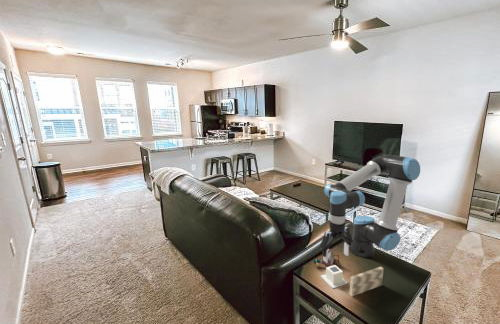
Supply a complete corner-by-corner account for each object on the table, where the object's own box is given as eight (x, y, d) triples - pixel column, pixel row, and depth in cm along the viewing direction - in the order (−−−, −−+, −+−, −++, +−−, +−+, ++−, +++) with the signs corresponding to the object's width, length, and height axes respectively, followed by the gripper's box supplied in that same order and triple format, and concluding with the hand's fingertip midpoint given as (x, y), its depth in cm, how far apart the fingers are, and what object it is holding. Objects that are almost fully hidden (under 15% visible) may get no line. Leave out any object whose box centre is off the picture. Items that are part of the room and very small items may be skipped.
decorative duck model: (314, 260, 133) (309, 244, 148) (314, 271, 135) (310, 255, 150) (341, 258, 132) (333, 243, 146) (341, 270, 134) (334, 253, 148)
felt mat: (335, 271, 133) (335, 271, 133) (348, 283, 124) (348, 282, 124) (320, 276, 129) (320, 275, 129) (332, 288, 120) (332, 288, 120)
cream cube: (334, 274, 130) (335, 264, 129) (342, 281, 125) (342, 271, 123) (325, 277, 128) (326, 267, 127) (333, 284, 123) (333, 274, 121)
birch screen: (379, 283, 123) (380, 266, 121) (381, 285, 122) (383, 268, 120) (349, 294, 116) (350, 276, 114) (351, 296, 115) (353, 278, 113)
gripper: (350, 213, 127) (349, 248, 132) (312, 223, 119) (311, 260, 123) (361, 219, 120) (359, 255, 125) (321, 229, 112) (320, 268, 116)
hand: (335, 258), depth 124 cm, fingers open, 13 cm apart
